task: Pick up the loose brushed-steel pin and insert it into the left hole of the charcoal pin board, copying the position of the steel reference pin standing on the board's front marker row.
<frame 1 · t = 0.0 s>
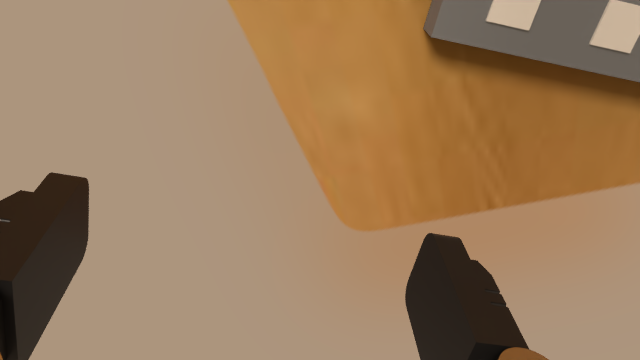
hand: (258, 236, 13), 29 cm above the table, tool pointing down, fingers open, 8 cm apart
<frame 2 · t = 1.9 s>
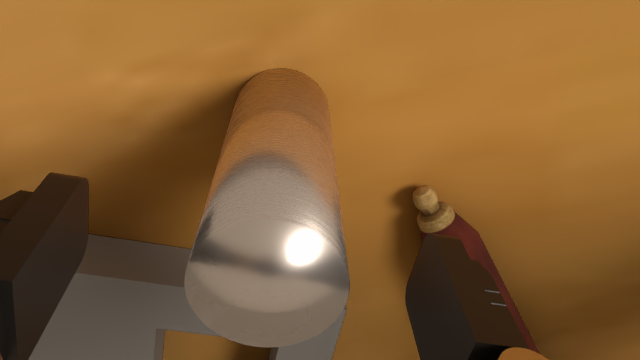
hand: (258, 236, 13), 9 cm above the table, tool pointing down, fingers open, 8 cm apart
gavel: (498, 328, 27), on the table
steel pin: (282, 114, 20), on the table
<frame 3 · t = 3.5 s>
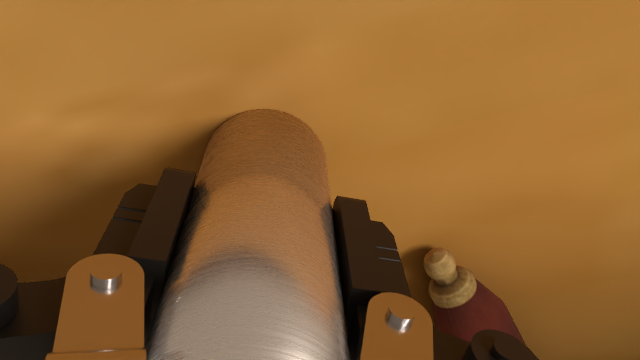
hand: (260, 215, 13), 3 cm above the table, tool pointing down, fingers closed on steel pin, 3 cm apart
steel pin: (265, 165, 16), on the table, touching gripper
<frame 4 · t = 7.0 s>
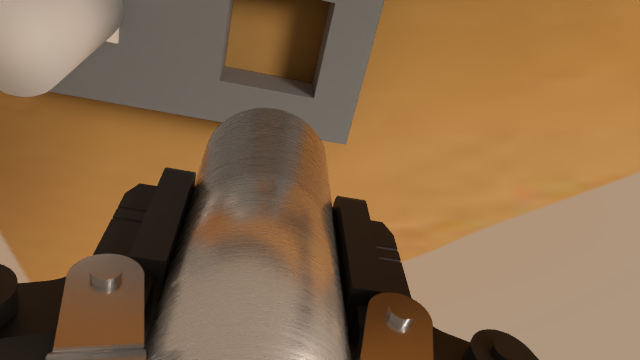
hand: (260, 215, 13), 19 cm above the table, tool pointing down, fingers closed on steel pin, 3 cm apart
steel pin: (266, 164, 16), point 16 cm above the table, touching gripper
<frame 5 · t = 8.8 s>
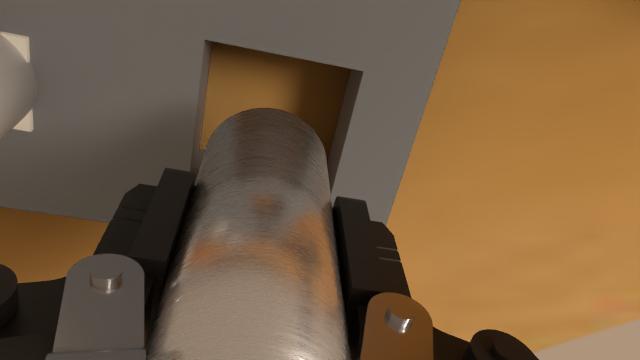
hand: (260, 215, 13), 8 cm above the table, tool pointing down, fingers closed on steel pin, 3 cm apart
steel pin: (266, 164, 16), point 5 cm above the table, touching gripper
when the fingers open (4 cm above the table, at t = 10.4 s): steel pin drops 1 cm, on the table.
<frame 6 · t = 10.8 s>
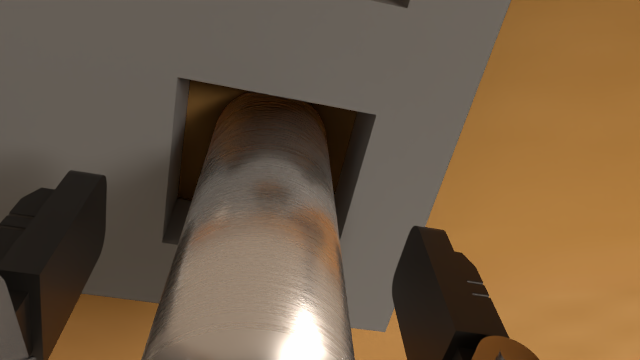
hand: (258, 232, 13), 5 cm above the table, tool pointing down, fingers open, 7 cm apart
steel pin: (270, 141, 17), on the table
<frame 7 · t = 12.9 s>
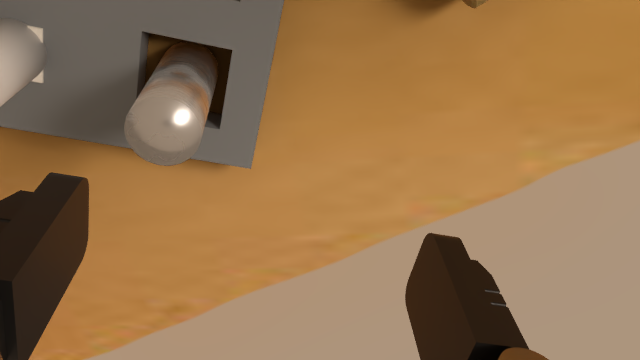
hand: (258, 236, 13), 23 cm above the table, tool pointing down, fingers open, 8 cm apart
steel pin: (190, 69, 34), on the table
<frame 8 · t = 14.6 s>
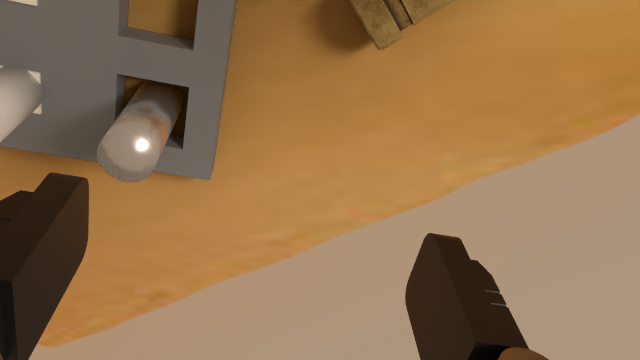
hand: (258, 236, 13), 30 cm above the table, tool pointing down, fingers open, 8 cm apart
steel pin: (159, 100, 42), on the table
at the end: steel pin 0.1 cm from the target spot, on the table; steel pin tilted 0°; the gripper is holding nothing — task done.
